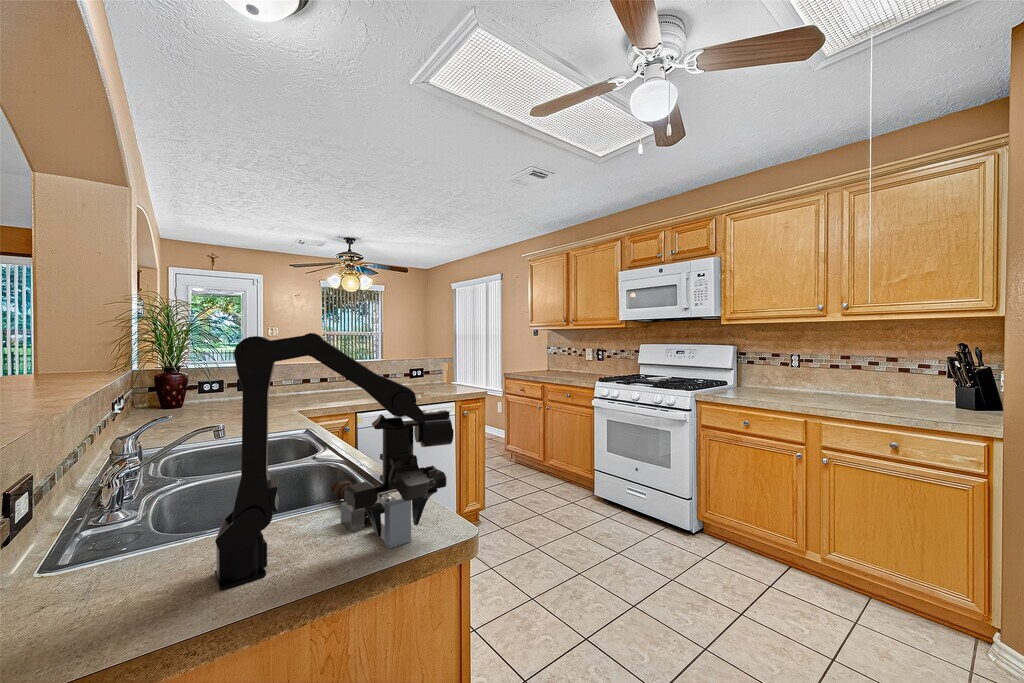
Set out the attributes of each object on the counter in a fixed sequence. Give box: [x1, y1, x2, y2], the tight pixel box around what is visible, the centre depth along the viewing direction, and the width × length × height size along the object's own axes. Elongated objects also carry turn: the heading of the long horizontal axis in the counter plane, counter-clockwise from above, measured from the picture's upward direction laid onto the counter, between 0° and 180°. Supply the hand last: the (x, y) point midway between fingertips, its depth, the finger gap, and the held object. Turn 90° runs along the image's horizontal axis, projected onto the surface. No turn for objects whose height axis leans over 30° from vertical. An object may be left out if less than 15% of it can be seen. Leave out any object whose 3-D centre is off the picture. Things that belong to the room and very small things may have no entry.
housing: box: [340, 493, 397, 533], centre depth 94 cm, size 10×6×5 cm, turn 131°
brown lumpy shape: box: [330, 480, 352, 501], centre depth 104 cm, size 6×5×15 cm
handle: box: [371, 497, 412, 549], centre depth 86 cm, size 4×9×8 cm, turn 41°
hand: (397, 530), depth 83 cm, fingers open, 7 cm apart
